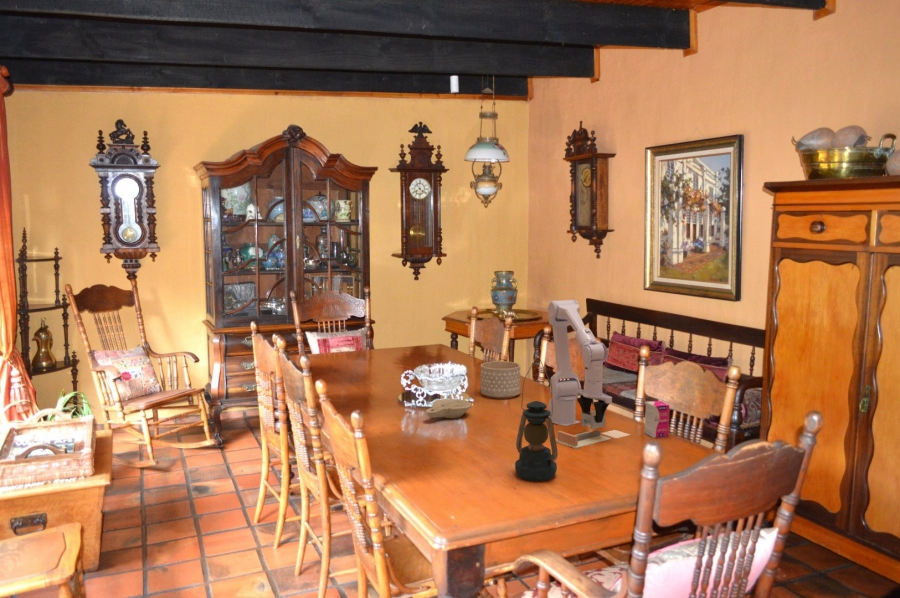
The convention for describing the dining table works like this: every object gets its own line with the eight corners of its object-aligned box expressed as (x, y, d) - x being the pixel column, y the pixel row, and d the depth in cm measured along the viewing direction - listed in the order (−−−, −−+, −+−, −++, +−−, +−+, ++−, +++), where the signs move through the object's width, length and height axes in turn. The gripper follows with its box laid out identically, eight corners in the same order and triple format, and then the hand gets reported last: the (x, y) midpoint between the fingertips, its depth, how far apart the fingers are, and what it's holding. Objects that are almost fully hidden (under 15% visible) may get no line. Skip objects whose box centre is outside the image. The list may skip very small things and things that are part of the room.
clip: (581, 425, 244) (581, 412, 244) (594, 423, 248) (594, 410, 247) (592, 429, 240) (592, 415, 240) (605, 426, 243) (605, 413, 243)
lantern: (503, 474, 210) (504, 354, 207) (529, 464, 219) (530, 348, 215) (542, 487, 200) (543, 360, 196) (568, 476, 209) (570, 355, 205)
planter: (476, 398, 299) (476, 367, 298) (486, 389, 315) (486, 360, 314) (515, 401, 295) (515, 370, 293) (523, 391, 310) (523, 362, 309)
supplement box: (653, 439, 243) (654, 405, 241) (644, 434, 248) (644, 401, 247) (668, 438, 244) (669, 404, 243) (659, 433, 250) (660, 400, 249)
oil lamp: (444, 427, 258) (444, 413, 258) (413, 420, 267) (413, 407, 266) (478, 414, 275) (478, 401, 274) (448, 408, 283) (448, 396, 283)
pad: (600, 434, 249) (600, 433, 249) (614, 430, 253) (614, 429, 253) (616, 439, 243) (616, 438, 243) (630, 435, 247) (630, 434, 247)
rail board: (554, 441, 241) (554, 430, 241) (588, 433, 250) (589, 422, 250) (576, 449, 233) (576, 438, 232) (611, 440, 242) (611, 429, 242)
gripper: (569, 377, 246) (568, 417, 247) (601, 385, 234) (600, 427, 235) (584, 375, 250) (583, 414, 251) (616, 382, 238) (615, 423, 239)
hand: (592, 420), depth 243 cm, fingers closed on clip, 5 cm apart
